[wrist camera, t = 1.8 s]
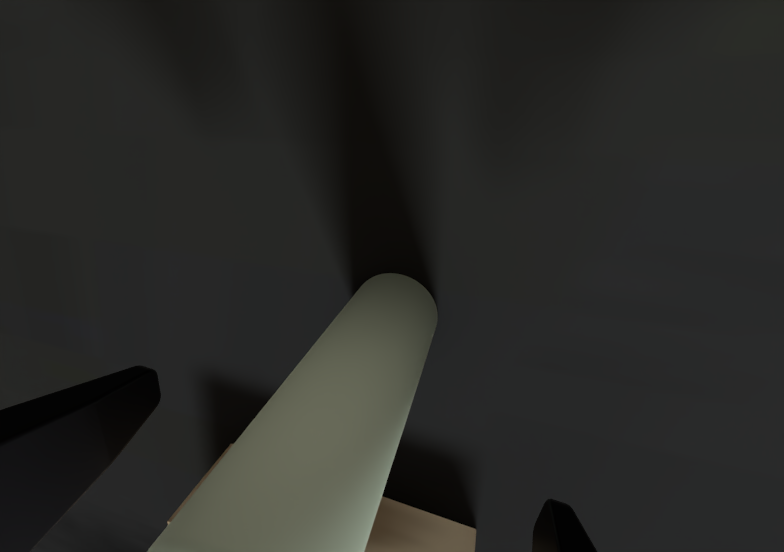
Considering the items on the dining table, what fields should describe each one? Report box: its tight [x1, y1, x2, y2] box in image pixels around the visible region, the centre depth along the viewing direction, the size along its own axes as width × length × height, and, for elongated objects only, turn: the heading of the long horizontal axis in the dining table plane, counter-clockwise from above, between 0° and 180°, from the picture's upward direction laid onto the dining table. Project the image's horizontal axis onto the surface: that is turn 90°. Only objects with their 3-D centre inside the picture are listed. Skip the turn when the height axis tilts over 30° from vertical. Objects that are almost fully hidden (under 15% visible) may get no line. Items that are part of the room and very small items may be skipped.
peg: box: [147, 273, 438, 552], centre depth 9 cm, size 3×3×9 cm
